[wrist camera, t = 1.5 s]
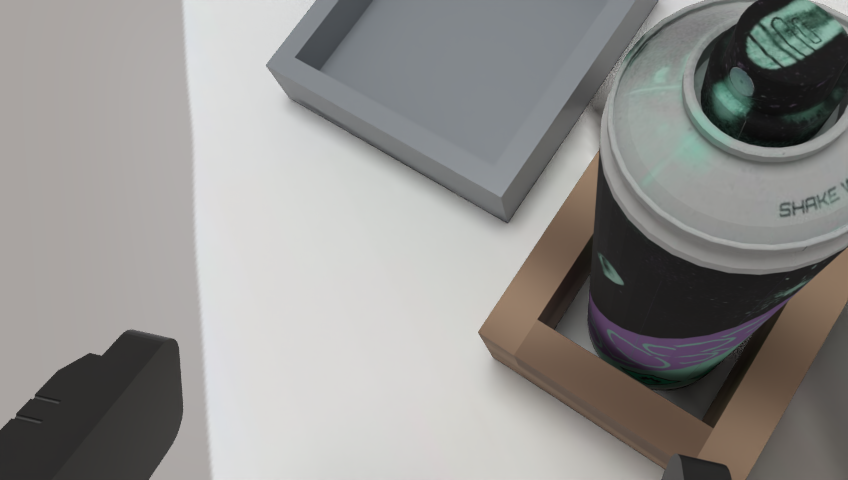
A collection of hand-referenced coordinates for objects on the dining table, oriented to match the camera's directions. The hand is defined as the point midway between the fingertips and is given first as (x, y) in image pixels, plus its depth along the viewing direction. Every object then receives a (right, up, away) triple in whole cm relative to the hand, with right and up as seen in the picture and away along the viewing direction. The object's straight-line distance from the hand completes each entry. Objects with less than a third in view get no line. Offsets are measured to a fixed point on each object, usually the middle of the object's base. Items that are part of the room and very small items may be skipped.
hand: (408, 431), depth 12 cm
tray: (+2, +12, +24) cm, 27 cm away
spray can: (+10, 0, +18) cm, 21 cm away
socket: (+10, 0, +18) cm, 20 cm away
